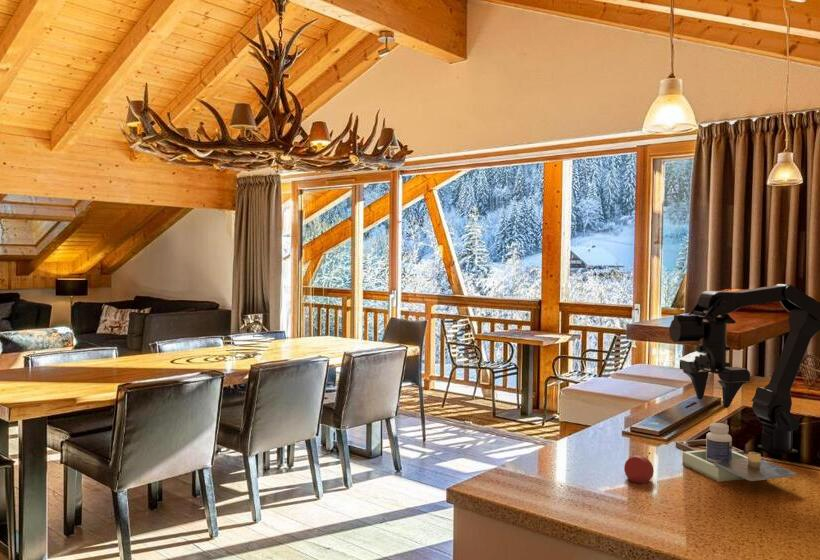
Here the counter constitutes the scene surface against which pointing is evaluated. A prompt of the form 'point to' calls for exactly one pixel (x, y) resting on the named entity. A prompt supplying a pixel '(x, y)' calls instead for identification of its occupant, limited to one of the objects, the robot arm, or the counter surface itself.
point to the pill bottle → (718, 443)
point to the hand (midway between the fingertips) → (712, 403)
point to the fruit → (638, 469)
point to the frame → (698, 442)
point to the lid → (754, 468)
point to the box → (709, 465)
